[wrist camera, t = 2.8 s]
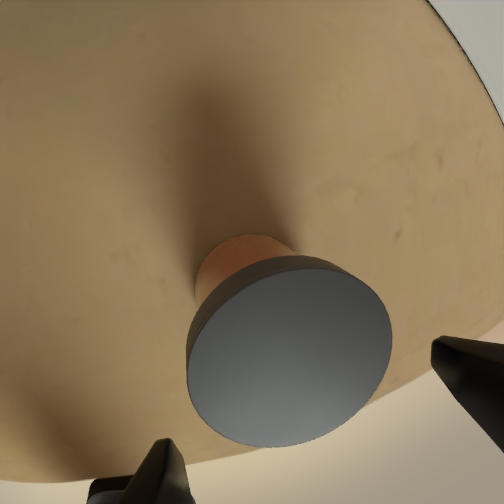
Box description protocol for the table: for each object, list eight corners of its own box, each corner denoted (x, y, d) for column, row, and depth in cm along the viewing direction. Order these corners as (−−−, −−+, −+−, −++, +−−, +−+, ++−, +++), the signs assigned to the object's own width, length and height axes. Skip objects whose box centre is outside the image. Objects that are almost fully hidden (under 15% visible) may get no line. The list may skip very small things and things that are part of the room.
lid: (375, 385, 12) (393, 405, 11) (221, 440, 12) (226, 468, 10) (358, 229, 11) (384, 238, 9) (156, 290, 10) (151, 311, 8)
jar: (311, 318, 19) (378, 396, 11) (213, 350, 18) (232, 449, 10) (290, 220, 17) (367, 254, 10) (180, 252, 16) (174, 315, 9)
